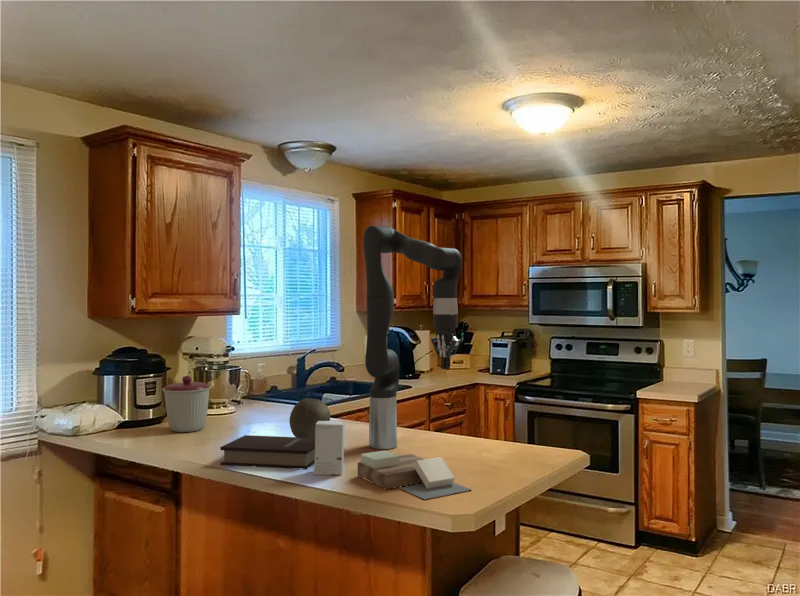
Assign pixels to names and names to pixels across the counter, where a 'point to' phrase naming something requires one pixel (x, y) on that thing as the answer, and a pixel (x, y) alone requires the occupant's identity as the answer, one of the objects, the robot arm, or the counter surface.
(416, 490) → the grey mat
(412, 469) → the walnut board
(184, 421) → the canister
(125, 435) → the counter surface
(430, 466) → the cream tile
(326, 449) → the skincare box
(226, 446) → the book
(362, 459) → the sage tile
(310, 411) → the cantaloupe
